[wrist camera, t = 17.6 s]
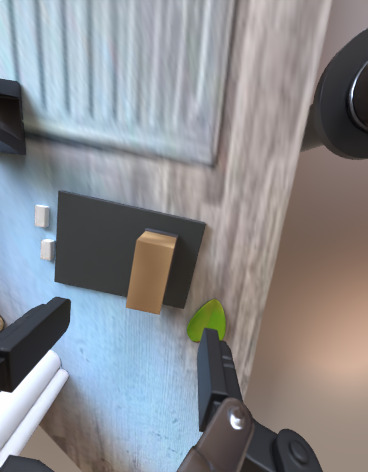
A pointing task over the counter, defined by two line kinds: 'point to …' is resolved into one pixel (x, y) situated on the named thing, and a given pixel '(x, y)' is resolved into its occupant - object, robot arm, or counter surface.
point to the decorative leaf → (207, 321)
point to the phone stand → (11, 118)
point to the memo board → (118, 245)
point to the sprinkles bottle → (1, 323)
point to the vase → (29, 404)
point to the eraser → (151, 270)
